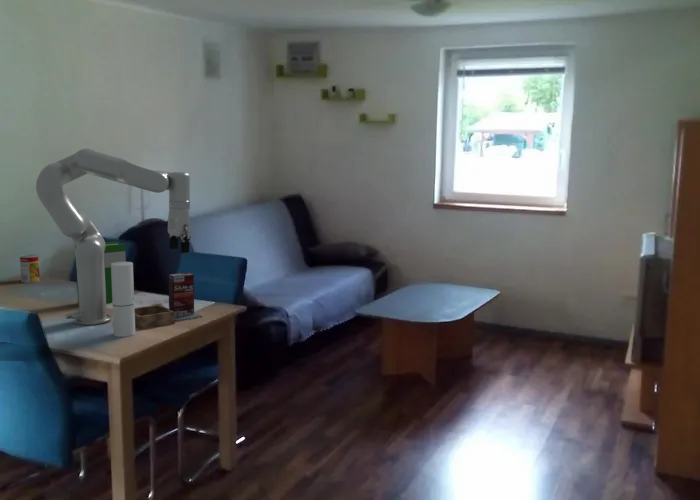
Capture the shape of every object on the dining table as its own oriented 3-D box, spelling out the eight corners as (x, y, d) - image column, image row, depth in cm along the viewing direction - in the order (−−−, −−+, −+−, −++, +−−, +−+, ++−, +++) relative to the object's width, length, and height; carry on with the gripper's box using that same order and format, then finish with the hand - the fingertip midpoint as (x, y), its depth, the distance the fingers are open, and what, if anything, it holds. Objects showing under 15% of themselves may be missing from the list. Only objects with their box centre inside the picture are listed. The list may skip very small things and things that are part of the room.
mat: (175, 321, 256) (175, 320, 256) (163, 315, 264) (163, 313, 264) (202, 317, 263) (202, 315, 262) (189, 311, 271) (189, 309, 271)
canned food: (43, 279, 324) (41, 254, 322) (33, 283, 316) (32, 257, 315) (27, 279, 325) (26, 254, 323) (17, 282, 318) (16, 256, 316)
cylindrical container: (137, 331, 243) (135, 261, 239) (132, 336, 236) (129, 265, 232) (117, 330, 243) (114, 261, 239) (111, 336, 236) (108, 265, 232)
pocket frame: (139, 329, 245) (139, 317, 244) (125, 321, 255) (124, 309, 254) (174, 323, 253) (174, 311, 253) (159, 315, 264) (159, 304, 263)
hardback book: (119, 297, 292) (117, 241, 288) (127, 300, 287) (125, 243, 283) (78, 303, 281) (75, 245, 277) (84, 306, 275) (81, 247, 271)
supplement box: (173, 317, 259) (172, 276, 256) (168, 315, 262) (167, 274, 260) (195, 314, 264) (194, 274, 261) (190, 311, 268) (189, 272, 265)
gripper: (160, 203, 261) (160, 247, 263) (180, 208, 247) (180, 254, 250) (178, 202, 265) (178, 246, 268) (199, 207, 252) (199, 253, 255)
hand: (179, 250), depth 259 cm, fingers open, 9 cm apart
